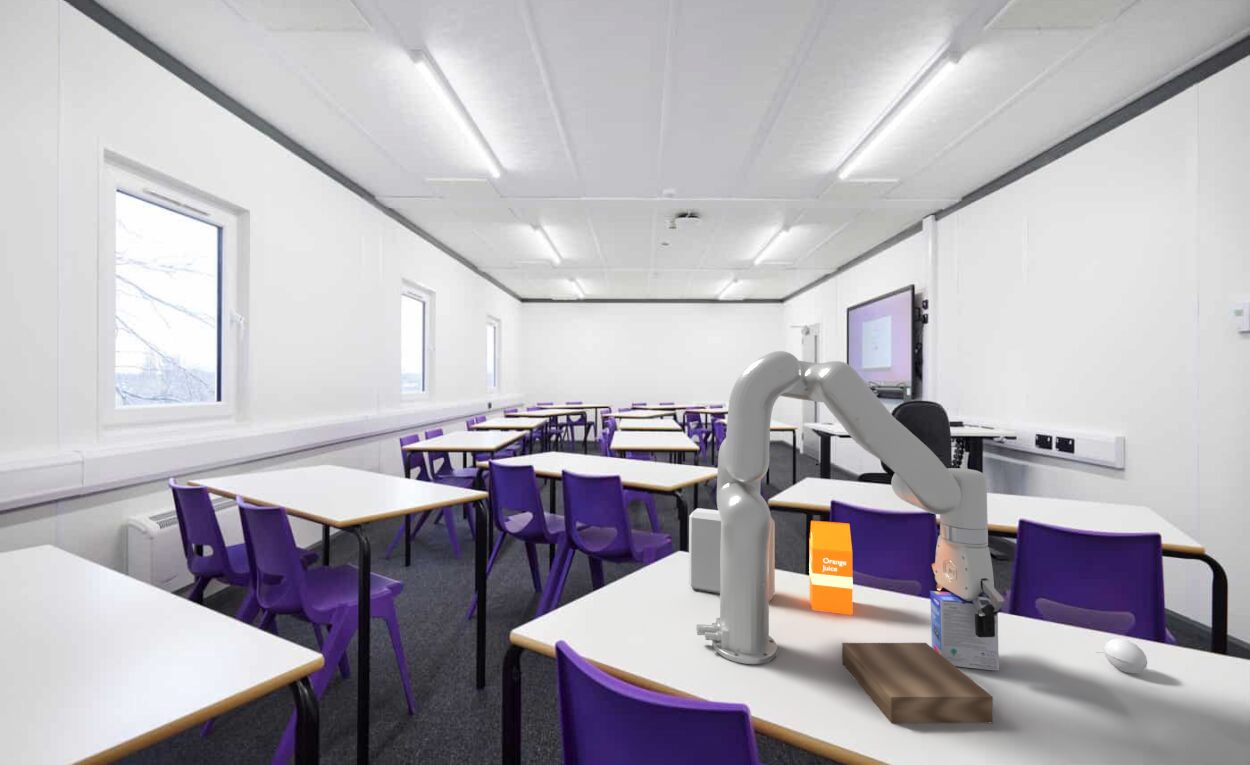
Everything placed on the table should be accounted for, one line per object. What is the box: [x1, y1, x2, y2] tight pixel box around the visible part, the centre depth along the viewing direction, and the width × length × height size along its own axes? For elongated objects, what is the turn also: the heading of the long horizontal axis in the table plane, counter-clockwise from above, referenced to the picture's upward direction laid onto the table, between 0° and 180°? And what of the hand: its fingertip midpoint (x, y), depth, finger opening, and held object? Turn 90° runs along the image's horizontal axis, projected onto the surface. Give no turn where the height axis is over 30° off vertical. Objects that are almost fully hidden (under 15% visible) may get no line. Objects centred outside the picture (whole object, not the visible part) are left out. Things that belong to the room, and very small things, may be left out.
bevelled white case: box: [688, 507, 776, 602], centre depth 123 cm, size 21×8×20 cm, turn 66°
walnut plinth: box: [841, 642, 994, 724], centre depth 82 cm, size 16×16×4 cm
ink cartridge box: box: [929, 590, 1000, 672], centre depth 92 cm, size 10×6×14 cm, turn 78°
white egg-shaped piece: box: [1095, 638, 1148, 674], centre depth 89 cm, size 8×6×6 cm
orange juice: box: [808, 520, 854, 616], centre depth 115 cm, size 8×9×20 cm
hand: (965, 623), depth 92 cm, fingers open, 9 cm apart
